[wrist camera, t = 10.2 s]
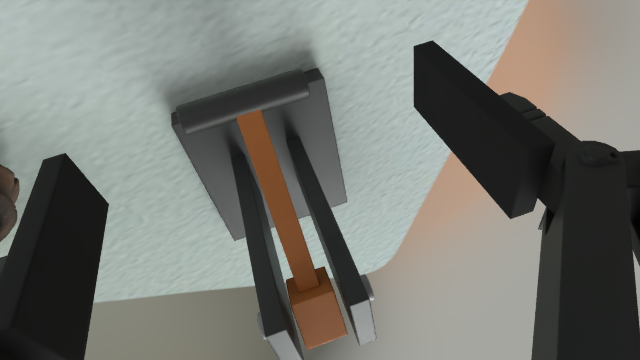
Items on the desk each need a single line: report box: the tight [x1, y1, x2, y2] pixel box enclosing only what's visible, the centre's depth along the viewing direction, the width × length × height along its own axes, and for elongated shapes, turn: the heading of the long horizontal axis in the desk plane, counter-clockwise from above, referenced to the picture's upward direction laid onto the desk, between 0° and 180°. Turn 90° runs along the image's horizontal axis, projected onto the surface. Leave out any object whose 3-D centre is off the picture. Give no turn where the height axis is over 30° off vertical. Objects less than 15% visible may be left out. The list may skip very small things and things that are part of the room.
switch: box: [176, 68, 348, 349], centre depth 19 cm, size 13×6×2 cm, turn 11°
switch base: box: [171, 68, 376, 360], centre depth 24 cm, size 12×10×15 cm
